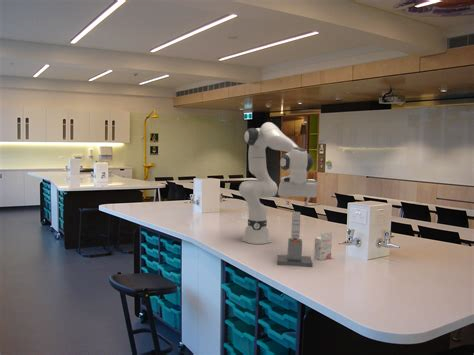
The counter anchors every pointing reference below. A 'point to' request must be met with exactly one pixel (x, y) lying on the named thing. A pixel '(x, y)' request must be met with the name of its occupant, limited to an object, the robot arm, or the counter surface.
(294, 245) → the stand base
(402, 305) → the counter surface
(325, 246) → the ink cartridge box
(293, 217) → the column
